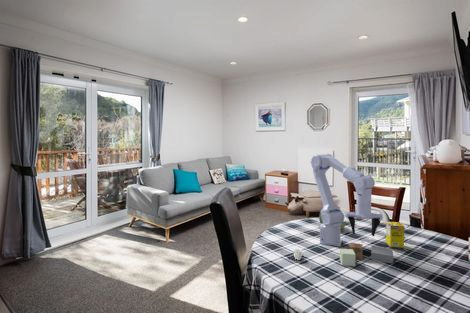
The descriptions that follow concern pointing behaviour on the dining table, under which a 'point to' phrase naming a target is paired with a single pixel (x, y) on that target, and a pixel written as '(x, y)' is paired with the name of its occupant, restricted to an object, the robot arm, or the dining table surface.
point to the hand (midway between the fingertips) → (363, 234)
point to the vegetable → (323, 223)
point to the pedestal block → (382, 254)
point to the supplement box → (395, 235)
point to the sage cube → (347, 257)
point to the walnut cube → (357, 250)
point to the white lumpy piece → (298, 254)
